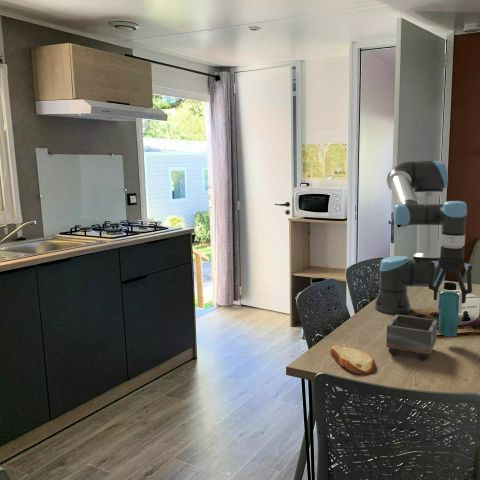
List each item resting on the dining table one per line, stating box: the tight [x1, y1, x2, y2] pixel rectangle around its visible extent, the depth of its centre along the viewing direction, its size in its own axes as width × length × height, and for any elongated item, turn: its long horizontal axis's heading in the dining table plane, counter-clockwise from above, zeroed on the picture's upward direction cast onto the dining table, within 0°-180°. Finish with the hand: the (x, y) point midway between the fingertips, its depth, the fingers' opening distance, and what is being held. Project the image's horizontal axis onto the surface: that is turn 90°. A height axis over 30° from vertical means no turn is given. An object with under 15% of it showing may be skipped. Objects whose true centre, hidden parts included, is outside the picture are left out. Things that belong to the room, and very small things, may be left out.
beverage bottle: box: [437, 281, 460, 337], centre depth 177 cm, size 6×7×20 cm
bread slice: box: [329, 345, 377, 376], centre depth 166 cm, size 18×18×4 cm
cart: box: [385, 314, 438, 362], centre depth 172 cm, size 14×14×10 cm
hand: (448, 310), depth 177 cm, fingers closed on beverage bottle, 6 cm apart
